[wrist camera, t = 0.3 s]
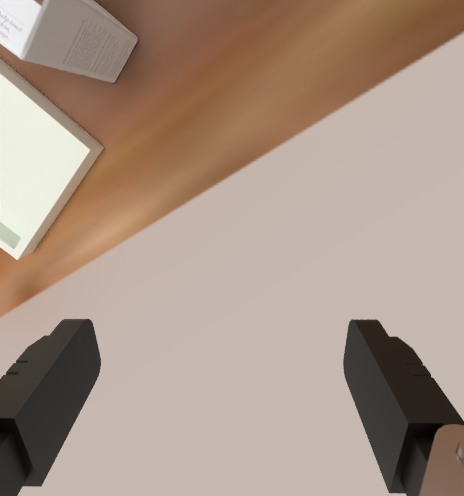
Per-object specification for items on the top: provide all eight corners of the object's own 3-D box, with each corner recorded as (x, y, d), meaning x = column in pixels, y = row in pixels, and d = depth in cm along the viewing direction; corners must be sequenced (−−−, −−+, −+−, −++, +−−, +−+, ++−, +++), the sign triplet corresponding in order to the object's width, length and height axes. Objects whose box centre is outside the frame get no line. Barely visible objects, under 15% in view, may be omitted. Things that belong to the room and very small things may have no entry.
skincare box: (54, 37, 27) (-97, -18, 16) (78, -18, 25) (-72, -122, 14) (118, 87, 28) (16, 68, 17) (144, 37, 26) (52, -22, 15)
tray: (-12, 48, 28) (-37, 42, 26) (104, 147, 30) (90, 150, 28) (-69, 172, 33) (-95, 176, 30) (34, 250, 35) (17, 260, 32)
